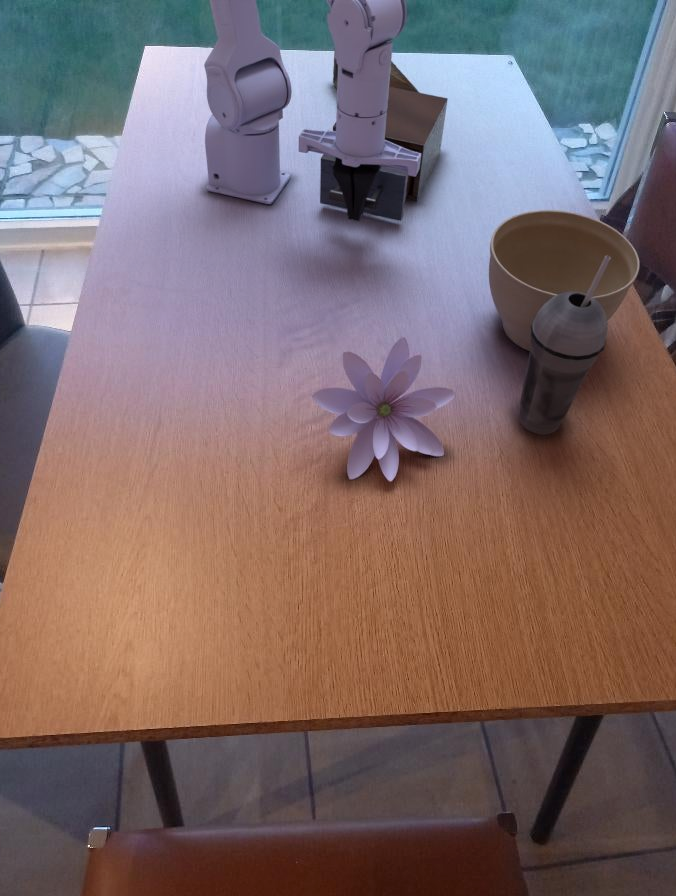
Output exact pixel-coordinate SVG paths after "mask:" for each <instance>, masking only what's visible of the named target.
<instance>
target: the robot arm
mask: <svg viewBox="0 0 676 896" xmlns="http://www.w3.org/2000/svg"><path fill="white" fill-rule="evenodd" d="M325 2H326V3H327V5H328V6H329V8H330V11H329V12H326V20H327V21H326V23H327V27H328V31H329V34H330V37H331V39H332V41H333V46H334V49H335V59H336V63H337V65H338V84H337V88H336V112H335V113H336V117H335V118H336V119H335V123H336V131H333V130H316V129H309V128H308V129H307V128H303V130H302V131H301V132H300V134H299V135H298V152H299V153H303V154H308V153H309V152H312V153H317V154H321V155H323V154H325V155H330V156H335V157H336V159H335V164H334V166H333V175H334V177H335V179H336V180H337V182H338V184H339V186H340V188H341V191H342V193H343V196H344V200H345V203H346V208H347V209H346V212H347V218H348V220H349V221H354V222H359V221H360V220H361V218H362V217H363V215H364V213H363V210H364V206H365V202H366V199H367V196H368V193H369V191H370V188H371V186H372V184H373V182H374V179H375V177H376V176H377V174H378V172H379V170H380V168H381V167H386V168H391V169H395V170H400V171H405V172H407V174H408V175H409V176H414V177H416V175H417V173H418V171H419V169H420V161H421V153H417V152H414V151H410V150H408V149H405V148H403V147H401V146H398V145H396V144H394V143H391V142H389V141H387V140H385V129H386V117H387V106H388V94H389V82H390V70H391V61H392V57H393V46H394V41H393V39H396V38H397V37H399V36H400V35H401V34H402V32H403V31H404V28H405V25H406V22H407V15H408V14H407V13H408V12H407V11H408V10H407V9H408V8H407V4H406V3H407V2H406V0H325ZM209 5H210V10H211V14H212V18H213V19H212V20H213V22H214V28H215V33H216V37H217V40H216V42H215V45H214V46H213V47H212V49H211V52H210V53H209V55H208V56H207V57H206V60H205V62H204V64H203V67H204V71H205V75H206V100H207V105H208V108H209V110H210V112H211V115H210V117H209V119H208V120H207V123H206V127H205V133H204V148H205V158H206V167H207V177H208V184H207V186H206V189H207V191H208V192H212V193H216V194H221V195H225V196H230V197H235V198H239V199H244V200H248V201H253V202H257V203H261V204H266V205H272V204H274V202H275V201H276V199H277V197H278V196H279V195H280V193H281V191H282V190H283V189H284V187H285V185H287V183H288V182H289V180H290V179H291V174H290V173H288V172H284V171H281V156H280V154H281V151H280V150H281V149H280V120H282V119H283V118H284V109H286V108H287V107H288V106H289V104H290V102H291V99H292V85H291V84H292V83H291V79H290V76H289V73H288V72H287V69H286V67H285V65H284V61H283V59H282V54H281V48H280V47H279V45H278V44H276V43H275V42H274V41H273V40H271V39H270V38H268V37H267V36H266V35H265V34H263V32H262V27H261V21H260V17H259V11H258V5H257V0H209Z"/></svg>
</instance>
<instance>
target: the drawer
mask: <svg viewBox="0 0 676 896" xmlns="http://www.w3.org/2000/svg"><path fill="white" fill-rule="evenodd" d="M401 147H402V146H401ZM403 148H405V149H408V150H410V151H414V152H417V151H418V150H417V149H412V148H407V147H403ZM335 159H336V157H335V156H330V155H325V154H322V156H320V177H319V178H320V180H319V181H320V182H319V183H320V185H319V187H320V188H319V203H320V204H321V205H327V206H331V207H335V208H339V209H340V208H341V209H345V210H347V208H346V203H345V200H344V196H343V193H342V191H341V188H340V186H339V184H338V182H337V180H336V179H335V177H334V175H333V166H334V164H335ZM413 182H414V176H409V175H408V174H407V172H405V171H400V170H395V169H391V168H386V167H381V168H380V170H379V172H378V174H377V176H376V177H375V179H374V182H373V184H372V186H371V188H370V191H369V193H368V196H367V199H366V202H365V206H364V210H363V214H367V215H372V216H376V217H381V218H386V219H390V220H394V221H399V222H402V220H403V218H404V213H405V203H406V200H405V199H406V197H407V195H408V193H409V191H410V189H411V187H412V185H413Z"/></svg>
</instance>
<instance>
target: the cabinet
mask: <svg viewBox="0 0 676 896" xmlns="http://www.w3.org/2000/svg"><path fill="white" fill-rule="evenodd" d="M418 92H419V91H418ZM418 92H413V91H408V90H403V89H398V88H393V87H389V94H388V106H387V117H386V129H385V140H387V141H389V142H391V143H394V144H396V145H398V146H402V147H407V148H412V149H417V150H418V151H417V153H421V161H420V169H419V171H418V173H417V175H416V177H414V182H413V185H412V187H411V189H410V191H409V193H408V195H407V197H406V199H405V201H409V202H416V203H418V202H419V199H420V196H421V195H422V193H423V190H424V188H425V186H426V184H427V182H428V180H429V178H430V176H431V173H432V171H433V169H434V167H435V165H436V163H437V160H438V159H439V157H440V154H441V149H442V142H443V136H444V135H443V134H444V127H445V120H446V113H447V106H448V97H444V96H437V95H433V94H429V93H423V92H420V93H418ZM332 131H336V122H335V123H333V125H332Z"/></svg>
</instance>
